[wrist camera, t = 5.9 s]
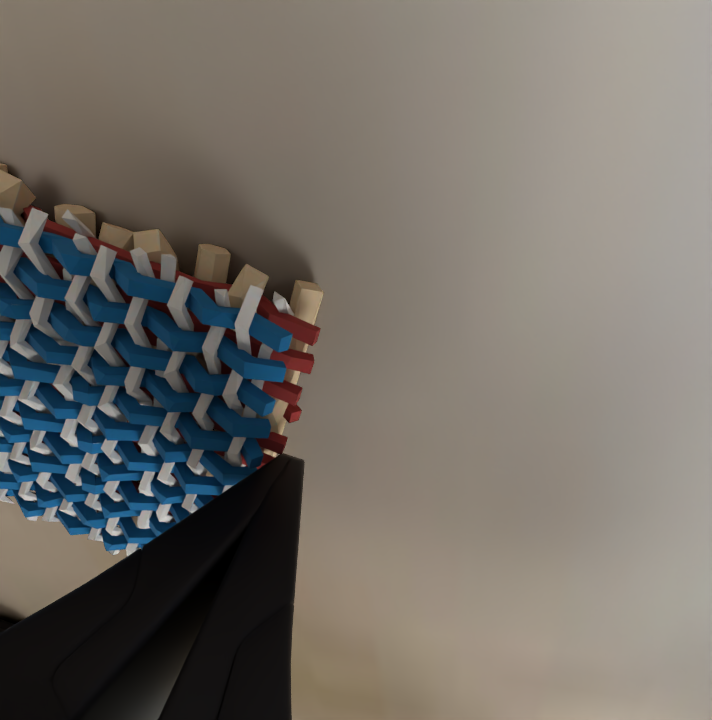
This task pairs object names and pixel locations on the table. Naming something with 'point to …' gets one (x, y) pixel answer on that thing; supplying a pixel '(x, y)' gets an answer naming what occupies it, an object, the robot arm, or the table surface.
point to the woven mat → (135, 372)
